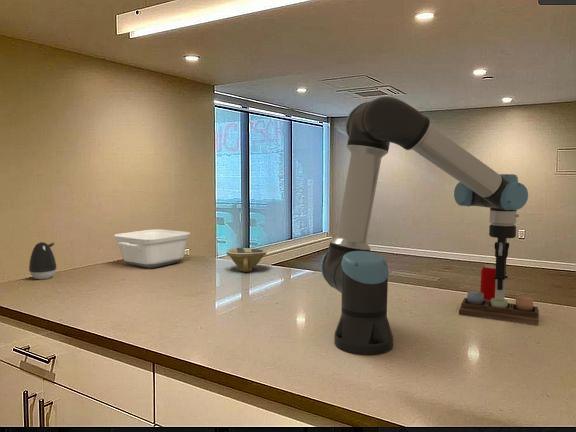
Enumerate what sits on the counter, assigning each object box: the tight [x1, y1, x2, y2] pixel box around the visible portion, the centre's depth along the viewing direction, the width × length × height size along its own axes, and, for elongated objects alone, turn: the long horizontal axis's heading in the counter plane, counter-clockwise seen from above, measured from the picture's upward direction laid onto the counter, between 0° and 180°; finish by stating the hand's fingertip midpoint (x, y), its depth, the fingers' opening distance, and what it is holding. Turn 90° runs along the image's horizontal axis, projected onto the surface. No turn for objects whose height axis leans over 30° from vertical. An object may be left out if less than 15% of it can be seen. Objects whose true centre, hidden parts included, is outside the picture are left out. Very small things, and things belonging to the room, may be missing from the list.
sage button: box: [491, 298, 509, 309], centre depth 145 cm, size 5×5×3 cm
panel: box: [458, 297, 540, 326], centre depth 145 cm, size 12×22×3 cm, turn 62°
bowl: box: [226, 247, 267, 273], centre depth 209 cm, size 18×18×10 cm
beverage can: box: [479, 264, 496, 301], centre depth 161 cm, size 6×6×12 cm
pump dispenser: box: [28, 241, 57, 280], centre depth 194 cm, size 10×10×15 cm
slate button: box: [466, 290, 484, 304], centre depth 148 cm, size 5×5×3 cm
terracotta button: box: [515, 296, 534, 311], centre depth 142 cm, size 5×5×3 cm
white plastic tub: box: [113, 228, 191, 269], centre depth 223 cm, size 34×29×15 cm
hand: (499, 299), depth 145 cm, fingers closed
